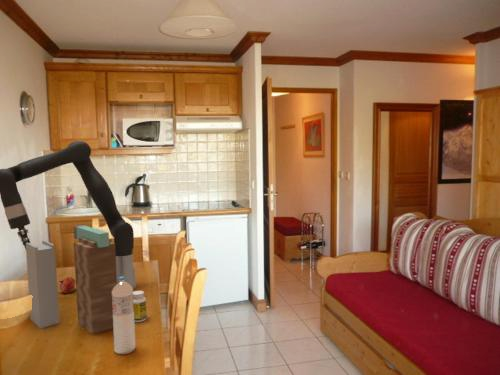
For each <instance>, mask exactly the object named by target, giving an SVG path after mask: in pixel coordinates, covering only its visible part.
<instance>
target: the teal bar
mask: <svg viewBox="0 0 500 375" xmlns="http://www.w3.org/2000/svg"><path fill="white" fill-rule="evenodd" d="M109 232H110V231H109ZM109 232H108V231H104V230H101V229H98V228H94V227H91V226H88V225H85V224H84V225H83V224H79V225H73V238H74V239H75V240H78V241H79V238H80V237H81V238H84V239H87V240H90V241H93V242H95V243H96V247H99V248H101V247H107V246H109V240H110V236H109Z"/></svg>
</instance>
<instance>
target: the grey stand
mask: <svg viewBox="0 0 500 375" xmlns="http://www.w3.org/2000/svg"><path fill="white" fill-rule="evenodd" d="M25 252H26V269H27V271H26V272H27V283H28V284H27V288H28V296H29V295H32V296H33V298H32V310H31V314H30V320H31V322H33V324H35V325H36V327H38V328H39V329H43V328H47V327H51V326H55V325H58V324H60V310H59V308H60V307H59V293H58V292H59V291H58V279H57V277H58V276H57V261H56V248H55V244H54V243H51V242H50V241H47V240H45V239H43V240H41V243H35V244H33V243H32V244H31V242H30V243H26V249H25Z"/></svg>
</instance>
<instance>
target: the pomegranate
mask: <svg viewBox="0 0 500 375" xmlns="http://www.w3.org/2000/svg"><path fill="white" fill-rule="evenodd" d="M58 283H60V284H59V289H60V291H61V292H63V293H64V294H70V293H71V292H72V291H73V289H74V290H76V279H75V278H74V277H71V276H70V277H65V278H64V279H62V280H59V282H58Z"/></svg>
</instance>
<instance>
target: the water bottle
mask: <svg viewBox="0 0 500 375" xmlns="http://www.w3.org/2000/svg"><path fill="white" fill-rule="evenodd" d="M124 280H125V277H124V276H121V277H119V282H118V283H117V284H116V285H115V286H114V287H113V289H112V291H111V294H112V306H113V329H112V331H113V349H114V353H116V355H127V354H130V353H132V352H134V351H135V349H136V330H135V329H136V328H135V326H136V325H135V322H134V309H133V292H134V289H133V288H132V286H131V285H130V284H129V283H127V282H126V281H124Z"/></svg>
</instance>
